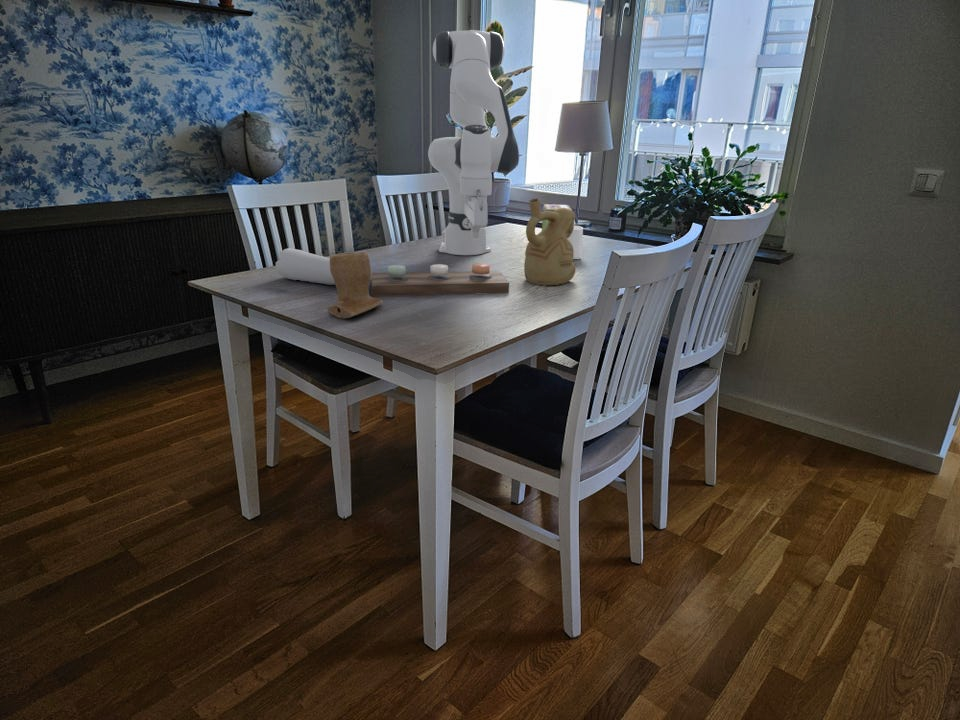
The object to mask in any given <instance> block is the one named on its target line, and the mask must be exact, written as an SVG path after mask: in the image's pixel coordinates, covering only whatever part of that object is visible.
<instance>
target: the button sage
mask: <svg viewBox="0 0 960 720" xmlns="http://www.w3.org/2000/svg"><path fill="white" fill-rule="evenodd" d="M406 269H407V268H406V265H404V264H403V265H401V264H394V265H393V264H391V265H388V266H387V273H388V275H390V276H403V275H406V272H407V271H406Z"/></svg>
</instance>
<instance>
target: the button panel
mask: <svg viewBox="0 0 960 720" xmlns="http://www.w3.org/2000/svg"><path fill="white" fill-rule="evenodd" d="M371 274H372V281H371V292H372V293H371V294H372V296H371V297H395V296H396V297H398V296H399V297H400V296H440V295H441V294H442V295H443V296H444V294H446V295H475V294H476V293H487V294H509V293H510V282H509V281H508V279H507V278H506V276H505V275H504V274H503V272H502V271H501V270H489V274H483V275H480V274H474V273H472V270H465V271H463V270H460V271H459V270H457V271H454V270H453V271H448V274H446V275H432V274H431V271H414V272H411V271H410V272H409V271H408V272H407V271H406V275H403V276H390V275H388V272H371ZM476 295H477V294H476Z"/></svg>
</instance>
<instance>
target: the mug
mask: <svg viewBox="0 0 960 720" xmlns="http://www.w3.org/2000/svg"><path fill="white" fill-rule="evenodd" d="M583 235H584V227H582V226H579V225H574V229H573V232H572V234H571V235H570V237H568V238H567V239H568V241H569V242H570V243H571V244H572V246H573V251H574V255H573V259H578V260H580V259H581V258H582V246H583ZM579 258H580V259H579Z"/></svg>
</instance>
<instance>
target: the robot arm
mask: <svg viewBox="0 0 960 720" xmlns="http://www.w3.org/2000/svg"><path fill="white" fill-rule="evenodd" d="M505 48H506V47H505V43H504V39H503V37H502V35H501V34H500V33H498V32H495V31H490V30H489V31H484V30H476V29H469V30H452V31H449V30H445V31H440V32H438V33H437V34H436V36H435V39H434V40H433V45H432V55H433V58H434V61H435V64H436V65H437V66H438V67H439V68H442V69H445V70H449V69H451V74H450V82H449V83H450V85H449V115H450V116H449V117H450V119H451V121H453V122H454V123H455V124H456V125H458V126H460V127H461V128H463V129H462V133H461V136H447V137H439V138H435V139H433V141H432V142H431V143H430V144H429V147H428V151H427V155H428V160H429V163H430V164H431V166H432V167H433V168H434V169H435V170H436V171H438V172H439V174H441V176H442V177H443V179H444V181H445V183H446V185H447V189H448V194H449V196H448V197H449V198H448V199H449V211H448V215H447V216H448V225H447V226H445V228H444V230H443V231H442V232H441V238H443V239H442V240H443V241H442V242H441V244H440V247H439V248H438V252H439V253H445V254H450V255H454V256H455V255H457V256H475V255H482V254H484V253H489V252H491V250H492V249H491V247H489V246H488V245H487V229H486V228H487V227H488V220H489V219H488V201H487V200H488V196H492V189H493V187H492V186H493V174H492V173H497V174H507V175H508V174H510V173H511V172H513V171H514V170H515V169H516V168H517V167H518V165H519V162H520V149H519V146H518V142H517V139H516V136H515V132H514V129H513V124H512V121H511V120H512V119H511V115H510V112H509V108H508V103H507V99H506V95H505V92H504V90H503V88H502V87H501V86H500V85H499V84H497V83H496V81H495V80H494V78H493V76H492V72H491V71H493V70H496V69H498V68H499V67H500V66H501V65H502V63H503V59H504V58H505V50H506V49H505ZM484 109H485V110H487V111H488V112H490V114H492V116H493V118H494V121H495V126H496V131H497V135H498V136H494V135H492V131H491V128H489V127H488V125H487V123H486V119H485V114H484V113H485V112H484Z"/></svg>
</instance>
